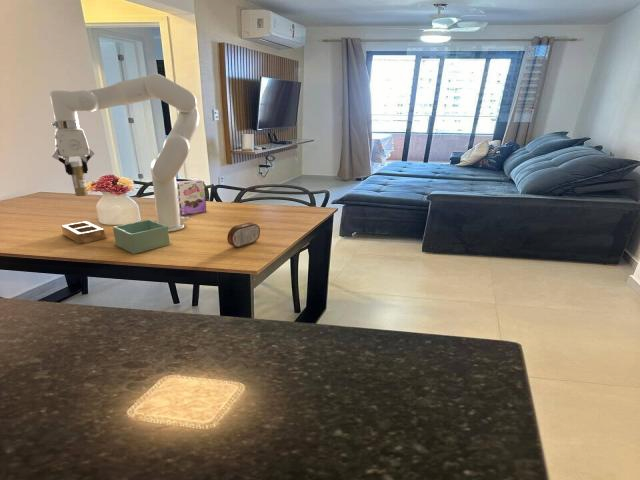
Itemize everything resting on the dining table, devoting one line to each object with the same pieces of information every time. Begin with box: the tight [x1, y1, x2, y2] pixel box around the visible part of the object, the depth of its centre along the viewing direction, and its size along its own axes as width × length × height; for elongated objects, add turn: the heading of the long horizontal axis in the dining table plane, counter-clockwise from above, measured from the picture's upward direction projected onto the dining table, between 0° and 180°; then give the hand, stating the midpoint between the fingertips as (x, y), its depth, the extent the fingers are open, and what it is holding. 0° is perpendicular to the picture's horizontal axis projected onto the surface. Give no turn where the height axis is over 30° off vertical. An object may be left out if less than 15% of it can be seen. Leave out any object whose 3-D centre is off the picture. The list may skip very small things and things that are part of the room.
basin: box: [112, 219, 171, 255], centre depth 148 cm, size 14×14×8 cm
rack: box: [61, 220, 106, 245], centre depth 156 cm, size 10×18×4 cm, turn 51°
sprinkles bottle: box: [69, 160, 89, 197], centre depth 151 cm, size 5×5×13 cm
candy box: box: [176, 179, 207, 217], centre depth 194 cm, size 14×6×16 cm, turn 129°
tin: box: [226, 221, 261, 248], centre depth 151 cm, size 15×3×8 cm, turn 141°
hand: (77, 173), depth 150 cm, fingers closed on sprinkles bottle, 4 cm apart
